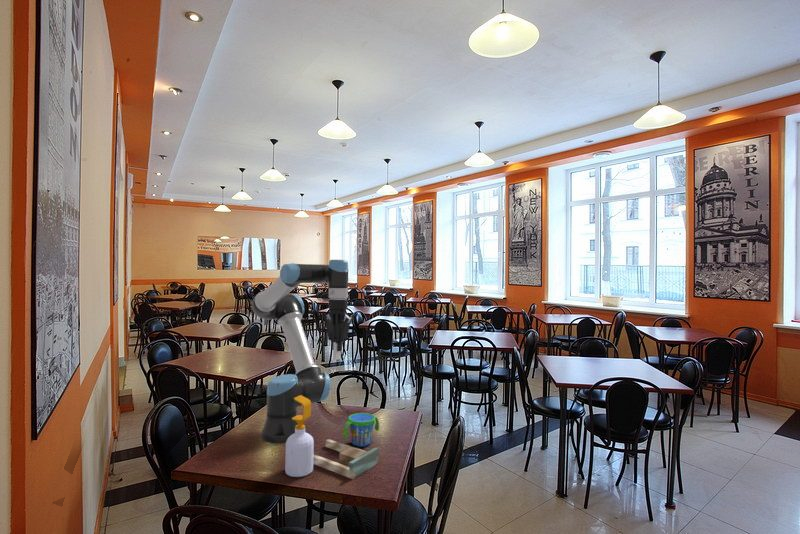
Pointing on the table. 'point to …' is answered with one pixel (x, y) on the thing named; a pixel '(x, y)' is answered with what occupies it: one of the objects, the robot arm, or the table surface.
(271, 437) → the robot arm
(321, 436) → the table surface
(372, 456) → the lane
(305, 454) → the soap bottle
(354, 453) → the block
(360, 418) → the snack cup
